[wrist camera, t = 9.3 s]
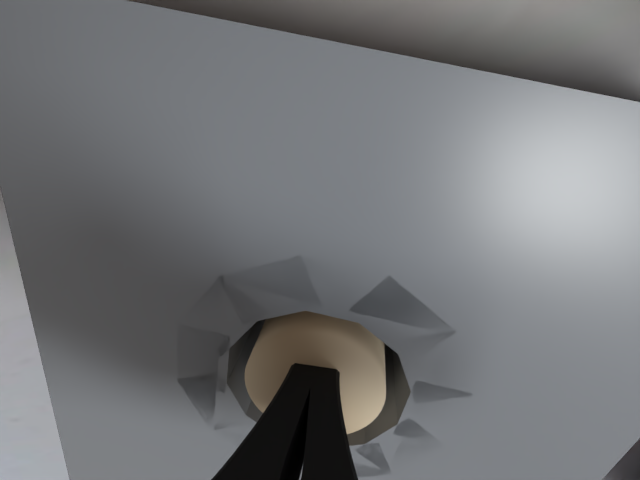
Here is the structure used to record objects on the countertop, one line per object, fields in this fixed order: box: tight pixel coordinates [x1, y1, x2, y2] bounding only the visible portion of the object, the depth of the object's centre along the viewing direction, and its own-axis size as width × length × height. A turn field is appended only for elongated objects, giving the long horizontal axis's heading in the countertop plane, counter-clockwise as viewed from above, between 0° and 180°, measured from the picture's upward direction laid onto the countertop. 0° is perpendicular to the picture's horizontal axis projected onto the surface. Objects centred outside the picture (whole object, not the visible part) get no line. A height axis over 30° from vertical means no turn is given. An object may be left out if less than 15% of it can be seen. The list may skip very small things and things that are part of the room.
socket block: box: [0, 0, 640, 480], centre depth 13 cm, size 18×18×6 cm
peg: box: [245, 311, 386, 434], centre depth 13 cm, size 4×4×5 cm
